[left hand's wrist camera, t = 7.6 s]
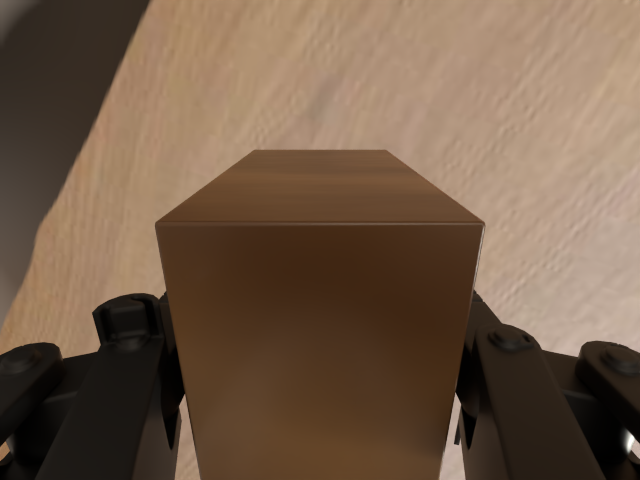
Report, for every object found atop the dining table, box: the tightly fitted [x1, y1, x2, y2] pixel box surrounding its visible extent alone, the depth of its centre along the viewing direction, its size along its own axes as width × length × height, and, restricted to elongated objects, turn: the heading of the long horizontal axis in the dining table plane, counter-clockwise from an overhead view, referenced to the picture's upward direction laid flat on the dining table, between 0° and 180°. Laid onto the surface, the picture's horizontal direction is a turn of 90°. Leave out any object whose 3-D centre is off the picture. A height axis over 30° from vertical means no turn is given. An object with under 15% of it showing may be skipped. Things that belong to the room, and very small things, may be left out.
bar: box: [155, 150, 485, 480], centre depth 14 cm, size 24×5×9 cm, turn 0°
